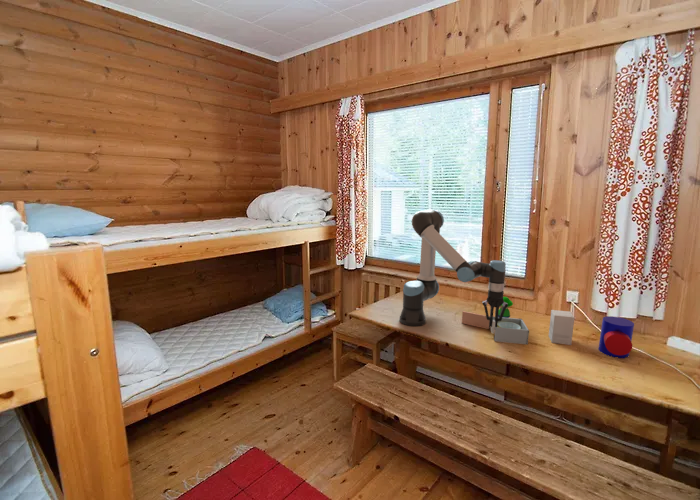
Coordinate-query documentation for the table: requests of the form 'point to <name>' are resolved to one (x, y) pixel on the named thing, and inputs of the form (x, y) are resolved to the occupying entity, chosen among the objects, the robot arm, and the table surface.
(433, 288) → the robot arm
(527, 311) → the table surface
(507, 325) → the bowl
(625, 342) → the cylinder
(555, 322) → the supplement box
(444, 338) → the table surface
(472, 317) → the door
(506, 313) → the toy
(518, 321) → the box
